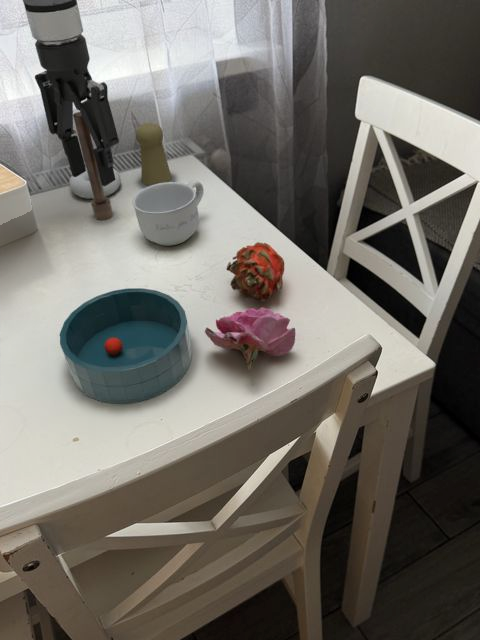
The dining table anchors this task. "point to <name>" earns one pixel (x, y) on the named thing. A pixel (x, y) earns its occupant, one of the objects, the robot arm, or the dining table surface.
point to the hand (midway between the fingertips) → (93, 177)
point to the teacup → (168, 211)
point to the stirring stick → (92, 171)
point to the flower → (254, 333)
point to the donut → (83, 186)
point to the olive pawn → (152, 155)
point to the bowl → (127, 345)
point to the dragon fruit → (257, 271)
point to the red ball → (113, 346)
